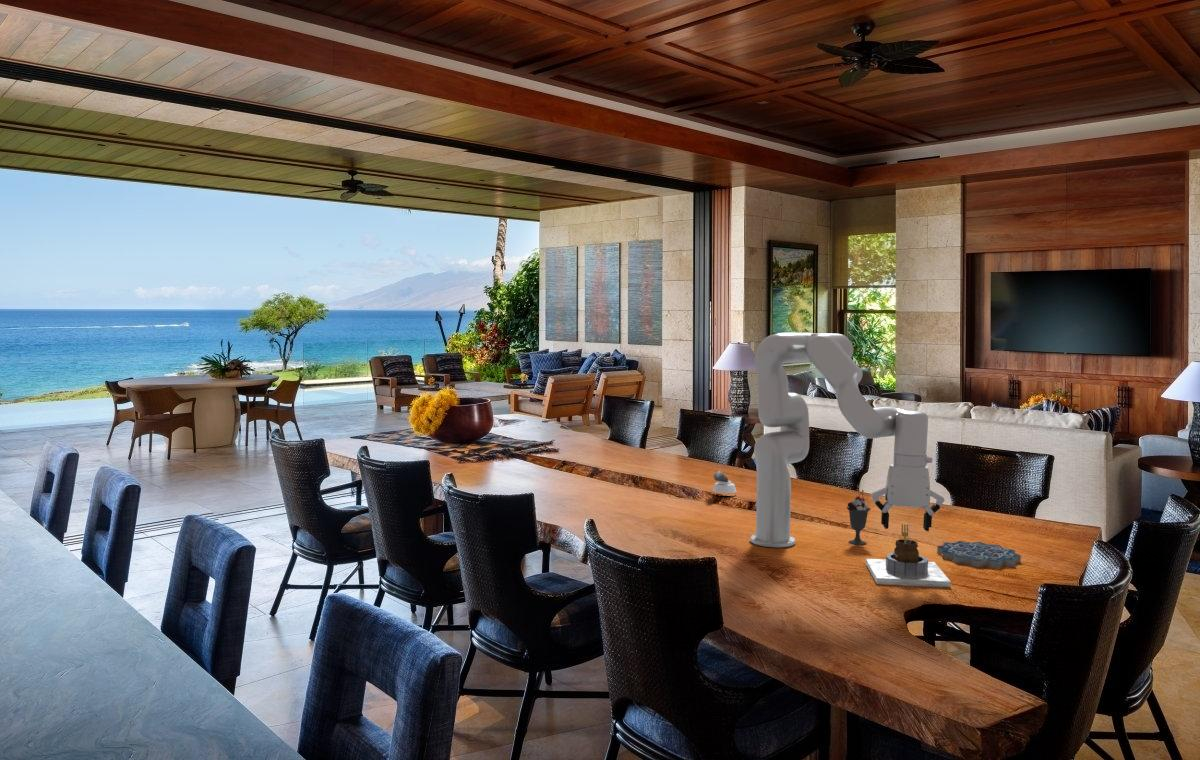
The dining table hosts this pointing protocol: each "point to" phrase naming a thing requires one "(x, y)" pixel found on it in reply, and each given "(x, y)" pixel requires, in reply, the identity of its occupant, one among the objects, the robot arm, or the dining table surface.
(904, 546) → the utensil holder
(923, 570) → the collar stand
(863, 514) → the sundae
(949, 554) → the decorative tile
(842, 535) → the dining table surface
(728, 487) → the inkwell
